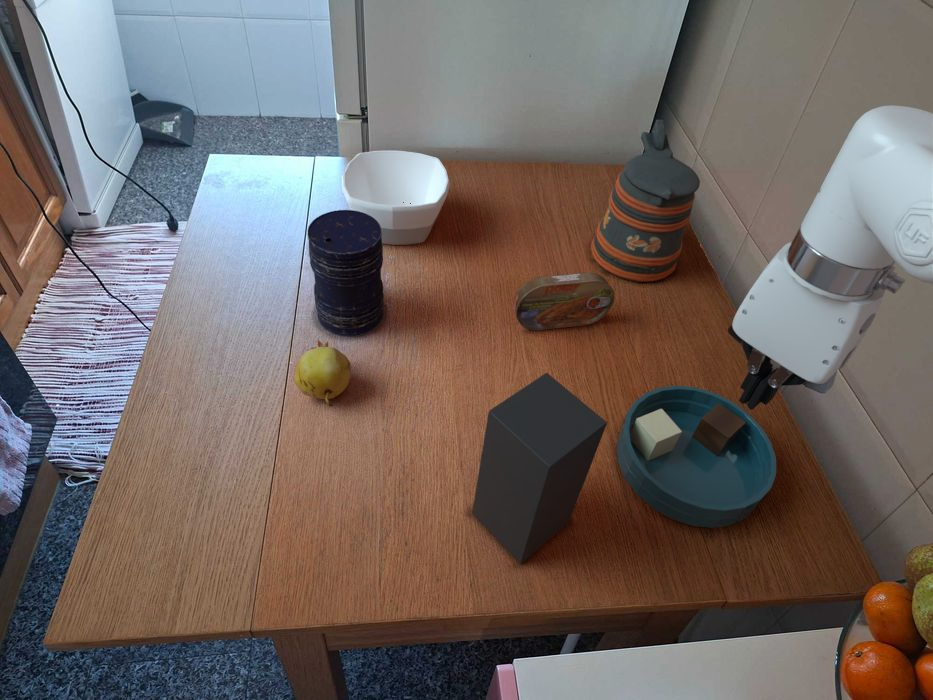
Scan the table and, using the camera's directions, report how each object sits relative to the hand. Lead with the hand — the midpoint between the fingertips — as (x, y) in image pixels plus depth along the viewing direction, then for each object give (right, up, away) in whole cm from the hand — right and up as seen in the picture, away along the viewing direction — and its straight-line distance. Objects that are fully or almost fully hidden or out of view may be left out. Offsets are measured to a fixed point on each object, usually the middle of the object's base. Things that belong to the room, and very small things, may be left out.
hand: (752, 399), depth 68 cm
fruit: (-49, 0, +18) cm, 52 cm away
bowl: (-42, +27, +45) cm, 67 cm away
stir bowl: (-2, -9, +14) cm, 17 cm away
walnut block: (+2, -6, +16) cm, 18 cm away
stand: (-24, -14, +7) cm, 29 cm away
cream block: (-6, -7, +15) cm, 18 cm away
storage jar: (-47, +10, +28) cm, 56 cm away
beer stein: (-1, +23, +45) cm, 51 cm away
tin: (-16, +9, +31) cm, 36 cm away
